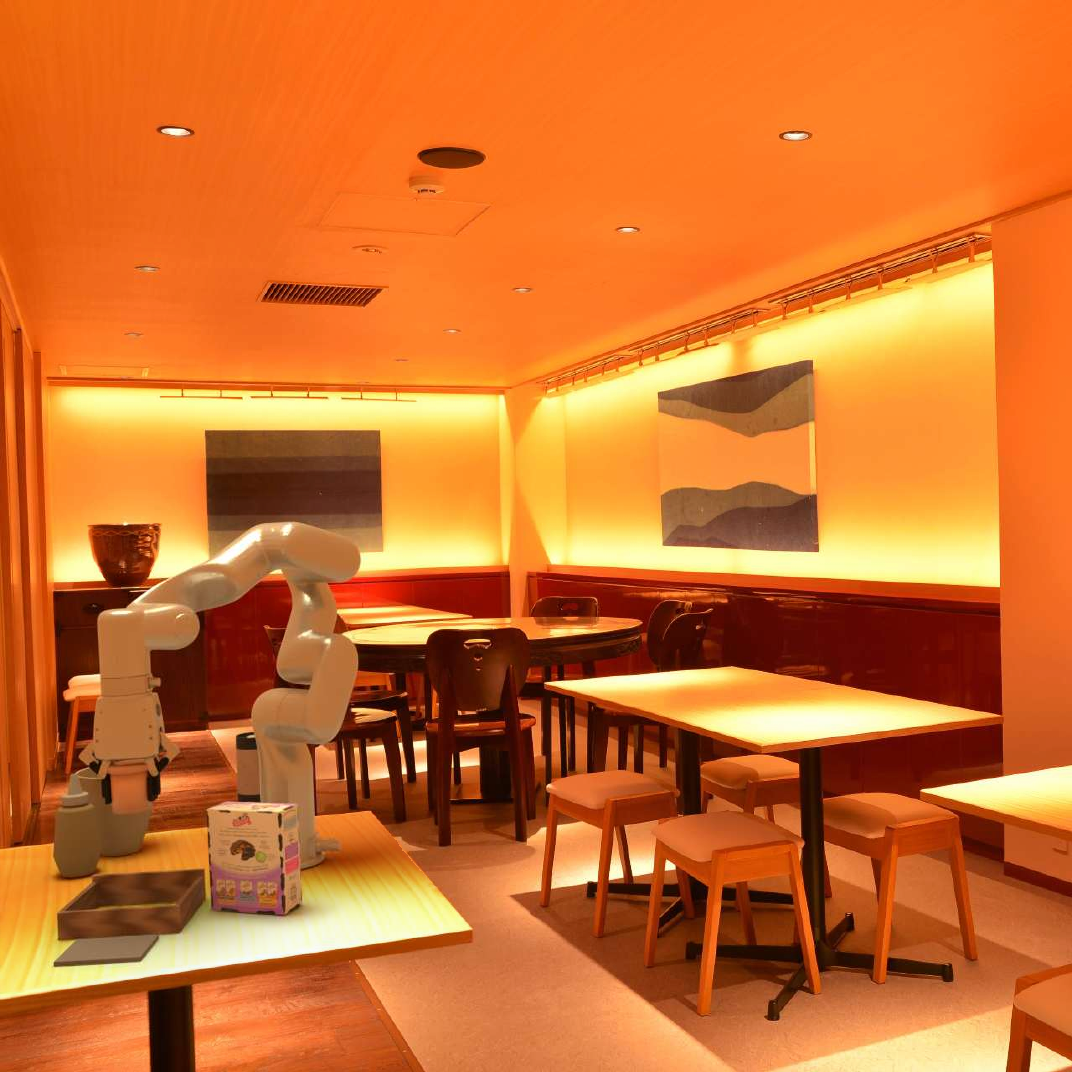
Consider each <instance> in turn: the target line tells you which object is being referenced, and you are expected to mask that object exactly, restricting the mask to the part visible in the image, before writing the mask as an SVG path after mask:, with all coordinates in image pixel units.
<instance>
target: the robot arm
mask: <svg viewBox="0 0 1072 1072" xmlns="http://www.w3.org/2000/svg"><path fill="white" fill-rule="evenodd" d="M361 559H362V557H361V553H360V550H359V548H358V546H357V545H356V543H355V542H354V541H353V540H352V539H350V538H349V537H346V536H344V535H341V534H338V533H335V532H332V531H328V530H325V529H323V528H319V527H316V526H313V525H309V524H306V523H303V522H297V521H283V522H265V523H261V524H256V525H255V526H252V527H251V528H249V529H247V530H246V531H244V533H242V534H241V535H240V536H238V537H237V538H235V539H234V540H233V541H231V543H229V544H228V545H226V546H225V547H224V548H222V549H221V550H220V551H218V552H216V553H215V554H214V555H213V556H212V557H210V558H208V559H207V560H205V561H204V562H202V563H199V564H198V565H195V566H192V567H190V568H188V569H186V570H185V571H182V572H180V573H178V574H175V575H174V576H172V577H170V578H167V579H165V580H163V581H161V582H159V583H157V584H156V585H155V586H152V587H151V588H149V589H148V590H146V591H145V592H144V593H143V594H141V595H140V596H138V597H137V598H136V599H134V600H133V601H132V602H131V603H129V604H127V606H126V608H125V607H124V608H111V609H107V610H104V611H101V612H100V613H99V615H97V616H98V617H97V639H98V640H97V641H98V642H97V643H98V658H99V659H98V660H99V677H100V678H99V679H100V696H99V697H97V698H96V703H95V709H94V718H93V737H92V740H91V741H90V742H89V743H88V745H87V746H86V747H85V748H84V749H83V750H82V751H81V752H80V753H79V755H78V759H79V760H80V761H82V763H84V764H85V765H86V766H88V768H90V769H91V770H92V771H94V772H95V773H96V774H97V775H98V778H99V779H101V786H102V797H103V798H105V804H110V803H112V798H111V779H110V774H108V773H107V767H108V766H110V764H114V763H115V762H119V761H125V760H136V759H144V761H145V763H146V764H148V770H149V776H148V777H147V790H148V801H149V802H153V803H154V802H155V801H156V800H157V799H158V798H159V796H160V795H161V793H162V785H161V772H162V771H163V770H165V768H166V767H167V766H168V765H169V764H170V763H171V761H172V760H174V758H175V757H176V756H178V754H179V753H180V751H181V749H180V747H179V746H178V745H177V744H176V743H174V742H173V741H172V740H171V739H170V738H169V737H168V736H167V735H166V733H165V725H164V724H165V723H164V718H163V717H164V716H163V713H162V712H163V711H162V706H161V702H160V698H159V694H158V692H153V690H154V688H156V687H161V683H162V682H161V678H160V677H154V676H153V673H152V671H151V669H152V668H151V651H152V650H153V651H154V650H156V651H157V650H162V651H163V650H164V651H165V650H166V651H167V650H168V651H169V650H170V651H172V650H174V651H176V650H180V649H183V648H186V647H187V646H189V645H191V644H192V643H193V642H194V641H195V640H196V638H197V637H198V634H199V632H200V629H201V628H200V626H201V624H200V620H199V617H198V615H197V614H196V613H198V612H201V611H206V610H211V609H214V608H215V609H216V608H218V607H219V608H220V607H223V606H225V605H228V604H231V603H234V602H235V601H237V600H239V599H241V598H242V597H243V596H244V595H245V594H246V593H248V592H249V591H251V589H252V588H254V587H255V586H256V585H257V584H258V583H260V582H261V581H262V580H264V579H265V578H266V577H267V576H269V575H270V574H271V573H273V572H274V571H278V570H280V571H281V574H282V575H283V577H284V579H285V581H286V583H287V585H288V587H289V590H290V593H291V598H292V599H291V600H292V609H291V612H290V615H289V619H288V622H287V626H286V628H285V632H284V636H283V639H282V642H281V645H280V648H279V651H278V654H277V658H276V671H277V674H278V676H279V677H280V678H281V679H282V680H284V681H285V682H288V683H290V684H291V683H292V684H296V685H297V684H299V685H309V686H310V687H309V689H302V688H287V687H278V688H271V689H269V690H266V691H264V692H262V693H261V694H260V695H259V696H258V697H257V698H256V700H255V701H254V703H253V706H252V709H251V717H250V718H251V725H252V732H254V735H255V739H256V743H257V749H258V757H259V771H260V799H261V803H283V804H298V822H299V843H300V867H301V870H302V869H307V868H311V867H314V866H316V865H318V864H321V863H322V862H323V861H325V858H326V852H327V851H328V852H339V851H340V850H341V840H340V839H336V838H334V837H333V838H322V837H320V831H316V818H315V817H316V816H315V815H316V814H315V792H314V791H315V789H314V788H315V787H314V766H313V759H312V755H311V753H310V749H309V747H308V745H307V744H310V745H323V744H327V743H329V742H331V741H332V740H333V739H334V738H335V737H336V736H337V734H338V733H339V732H340V729H341V727H342V725H343V722H344V720H345V717H346V716H345V715H346V713H347V710H348V706H349V703H350V700H351V696H352V693H353V688H354V685H355V682H356V680H357V679H356V678H357V674H358V670H359V654H358V651H357V647H356V645H355V644H354V642H353V641H352V639H350V638H349V637H347V636H346V635H344V634H340V633H334V632H335V631H334V630H335V627H336V622H337V617H338V607H337V606H338V605H337V601H336V599H335V597H334V594H333V591H332V590H331V588H330V586H329V584H330V583H332V584H334V583H335V584H336V583H337V584H338V583H344V582H345V583H346V582H348V581H350V580H351V579H353V578H355V576H356V575H357V574H358V572H359V570H360V567H361V561H362V560H361ZM328 583H329V584H328ZM165 750H166V754H165V755H164V756H163V757H162V758H161V759H160V758H159V757H158V754H160V753H162V752H164V751H165ZM93 754H94V755H93Z"/></svg>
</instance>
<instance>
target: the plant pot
mask: <svg viewBox="0 0 1072 1072" xmlns="http://www.w3.org/2000/svg"><path fill="white" fill-rule="evenodd" d="M75 774H78V777H79V781H80V784H81V788H82V792H88V793H89V802H88V803H90V804H92V805H93V806H94V807H95V812H96V819H97V826H98V833H99V839H100V846H101V853H100V856H104V857H121V856H125V855H131V854H133V853H137V852H139V851H140V850H141V848H142V846H143V843H144V839H145V836H146V832H147V829H148V826H149V821H150V817H151V814H152V808H153V807H152V808H151V809H149V810H147V811H143V812H139V813H132V814H115V813H113V812H112V803H110V804H105V798H103V797H102V786H101V779H99V778H98V775H97V774H96V773H95V772H94V771H92V770H91V769H90V768H89V767H86V768H83V769H80V770H78V771H76V772H75ZM153 803H154V801H153V802H152V805H153Z"/></svg>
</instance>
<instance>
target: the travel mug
mask: <svg viewBox="0 0 1072 1072" xmlns="http://www.w3.org/2000/svg"><path fill="white" fill-rule="evenodd" d="M235 749H236V750H235V752H236V753H235V757H236V758H235V759H236V785H237V789H236V790H237V802H254V803H261V799H260V771H259V757H258V749H257V743H256V739H255V735H254V731H249V732H241V733H238V734H236V736H235Z"/></svg>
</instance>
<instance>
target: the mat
mask: <svg viewBox="0 0 1072 1072" xmlns="http://www.w3.org/2000/svg"><path fill="white" fill-rule="evenodd" d="M159 938H160V934H152V935H134V936H116V937H99V938H81V939H74V940H75V941H73V942H72V943H71V944H70V945H69V946H68V947H67V948H66V949H65V950H64V951H63V952H62V953H61V954H60V955H59V956H58V957H57V958H56V959H54V961H53V967H65V966H67V967H69V966H80V965H81V966H83V965H86V966H87V965H99V964H101V965H102V964H118V963H120V964H121V963H137V962H141V961H142V960H143V959H144V957H145V956H146V955H147V954H148V953H149V952H150V951H151V949H152V948H153V947H154V946H155V944H156V943H157V942H158V941H159Z"/></svg>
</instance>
